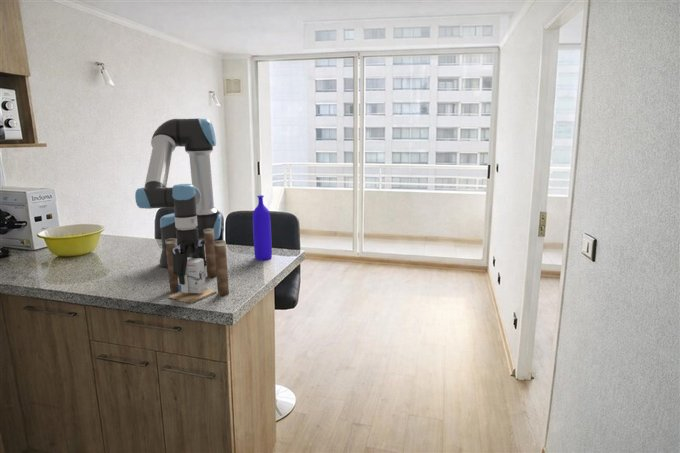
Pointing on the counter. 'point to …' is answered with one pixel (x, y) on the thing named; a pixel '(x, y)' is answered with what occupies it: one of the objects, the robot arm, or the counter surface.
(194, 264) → the ink box
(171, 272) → the gate post
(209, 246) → the gate post
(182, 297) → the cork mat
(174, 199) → the robot arm
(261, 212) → the bottle
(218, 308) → the counter surface
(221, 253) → the corner post
